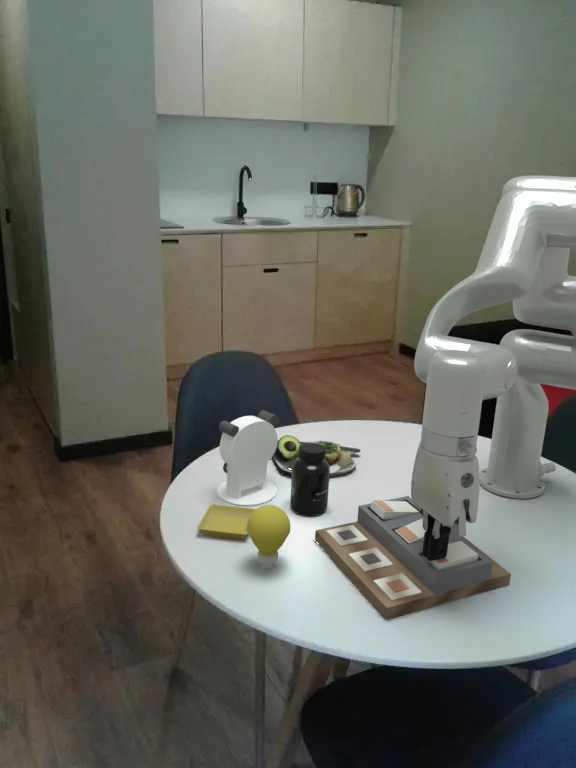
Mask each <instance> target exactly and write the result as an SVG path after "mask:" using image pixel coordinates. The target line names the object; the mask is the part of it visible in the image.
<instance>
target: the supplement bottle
mask: <svg viewBox="0 0 576 768" xmlns="http://www.w3.org/2000/svg"><path fill="white" fill-rule="evenodd" d="M325 456H326V455H325V447H324V446H323V445H320V444H317V443H305V444H302V445H300V446H299V453H298V459H296V460H295V461H294V463H293V465H292V478H291V484H290V505H289V506H290V509H291V510H292V511H293V512H295V513H296V514H298V515H301V516H304V515H305V517H316V515H317V516H319V515H322V514H324V513H325V512H326V511H327V509H328V503H329V488H330V487H329V486H330V477H329V475H330V473H331V465H329V464H328V462H327V461H326V460H325Z"/></svg>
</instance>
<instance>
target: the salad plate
mask: <svg viewBox="0 0 576 768" xmlns="http://www.w3.org/2000/svg"><path fill="white" fill-rule="evenodd" d="M305 443H317V444H320V445H323V446H324V447H325V455H326V456H325V460H326V461H327V462H328V464H329V466H332V465H336V466H338V468H339V467H340V468H339V469H337V470H336V471H333V472H330V475H329V478H331V477H335V476H340V475H345V474H347V473H349V472H351V471H353V470H354V469H355V468H356V467H357V464H356V461H355V460H354V459H353V458H352V457H351V455H353V454H358V453H360V452H361V451H362V450H361V449H360V448H356V447H348V446H344V445H343V446H342V445H341V444H340V443H336V442H333V441H327V440H314V441H313V440H312V441H300V440H299V439H298V438H297V437H295V436H293V435H288V434H285V435H283V436H281V437H280V438H279V439H278V444H277V448H276V450H275V452H274V454H273V456H272V461H273V463H274V465H275V468H276V469H277V470H278V472H279V473H281V474H282V475H284V476H286V477H288V476H289V478H291V477H292V470H289V469H288V468H291V469H292V465H293V463H294V461H295V460H296V459H298V453H299V446H300V445H302V444H305Z"/></svg>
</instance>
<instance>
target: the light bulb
mask: <svg viewBox="0 0 576 768" xmlns="http://www.w3.org/2000/svg"><path fill="white" fill-rule="evenodd" d="M255 509H256V510H255V511H253V513H252V514H251V515H250V517H249V519H248V524H247V532H248V534H247V535H248V536H249V537H250V539H251V541H252V543H253V545H254V546H255V547H256V549H257V550H258V551H257V560H258V561H259V563H260V567H261V568H262V569H264V570H265V569H266V570H270V569H271V570H272V569H273V568H275V567H276V563H277V562H278V561H279V550H280V548H282V546H283V544H284V543H285V541H286V540H287V538H288V537H289V534H291V521H290V517H289V516H288V515H287V513H286V512H285V510H283V509H282V508H280V507H278V506H276V505H271V504H265V505H264V504H263V505H260V506H259V507H257V508H255Z"/></svg>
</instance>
